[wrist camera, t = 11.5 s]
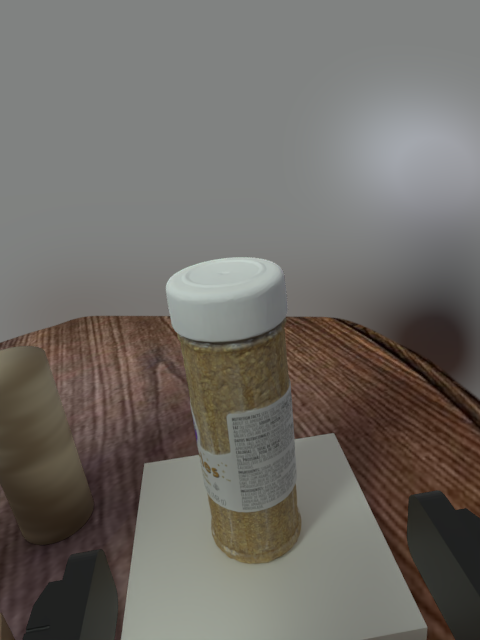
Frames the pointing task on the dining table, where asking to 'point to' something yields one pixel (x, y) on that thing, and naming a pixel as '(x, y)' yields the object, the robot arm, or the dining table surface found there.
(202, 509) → the ceramic tile
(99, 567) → the robot arm
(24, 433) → the beech dowel
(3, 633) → the walnut block
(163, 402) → the dining table surface
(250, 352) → the sprinkles bottle
